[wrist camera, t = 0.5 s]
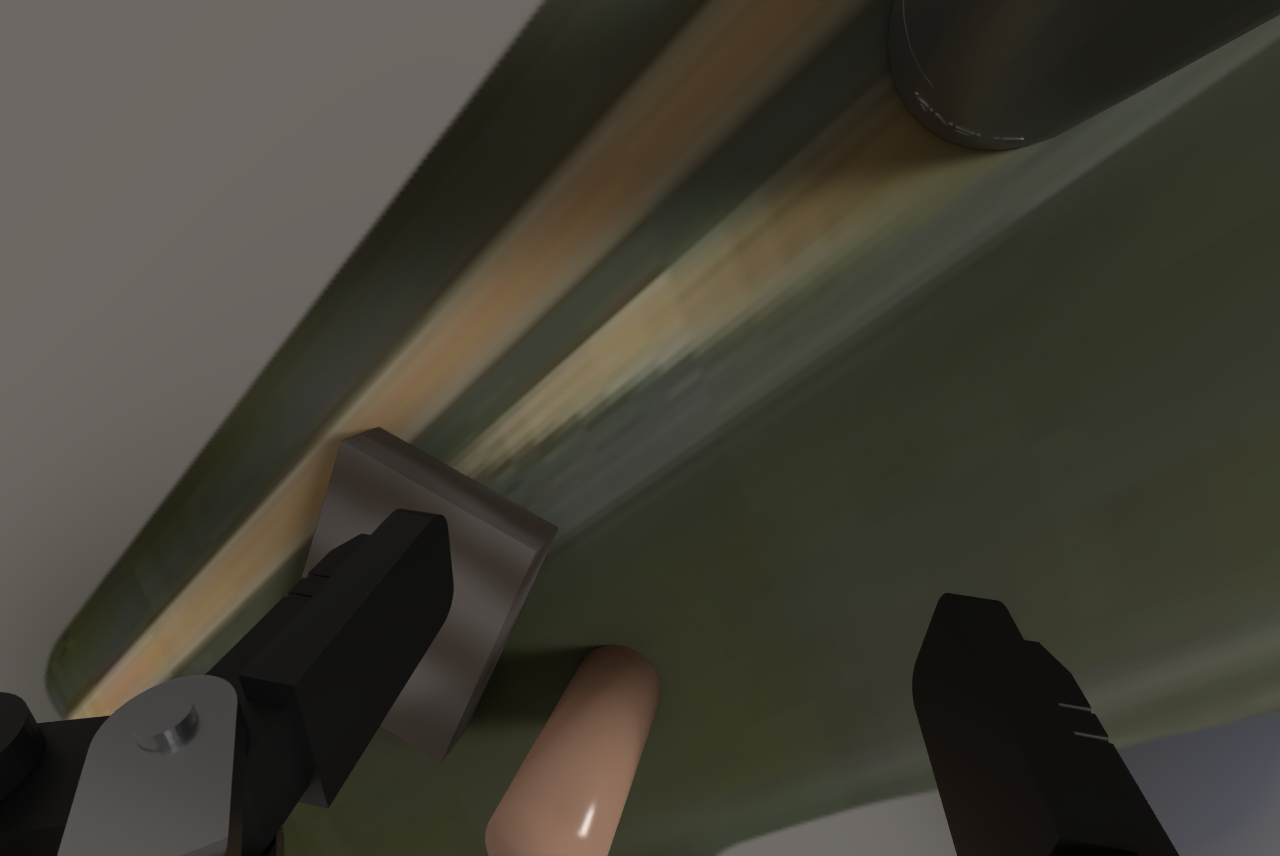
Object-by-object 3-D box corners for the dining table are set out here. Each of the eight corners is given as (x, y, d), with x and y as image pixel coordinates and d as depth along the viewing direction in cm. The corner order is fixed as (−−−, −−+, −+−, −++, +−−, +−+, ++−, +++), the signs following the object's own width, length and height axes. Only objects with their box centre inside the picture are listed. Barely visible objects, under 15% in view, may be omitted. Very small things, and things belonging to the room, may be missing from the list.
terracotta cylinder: (597, 629, 34) (509, 781, 24) (675, 675, 34) (619, 850, 23) (565, 692, 36) (469, 859, 26) (639, 736, 35) (571, 926, 25)
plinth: (379, 427, 35) (341, 440, 32) (558, 527, 33) (535, 551, 30) (314, 633, 40) (277, 660, 37) (466, 728, 38) (440, 764, 36)
